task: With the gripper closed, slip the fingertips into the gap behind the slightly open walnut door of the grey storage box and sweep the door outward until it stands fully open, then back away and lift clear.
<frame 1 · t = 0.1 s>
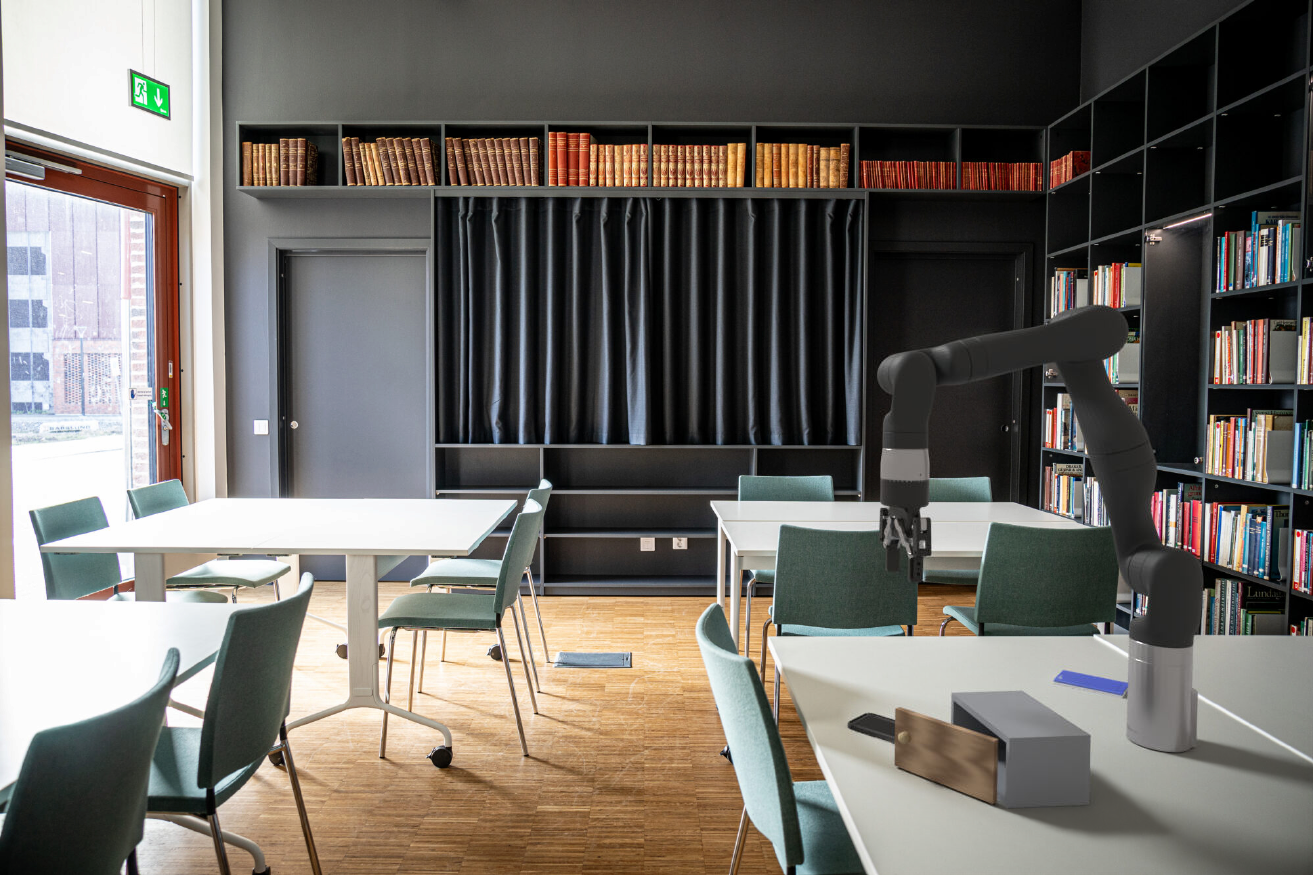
hand: (903, 576, 131), 29 cm above the table, tool pointing down, fingers open, 8 cm apart
door: (942, 753, 120), point 5 cm above the table, hinge at 35.0°
storage box: (1015, 777, 123), on the table
hard drive: (1091, 689, 164), on the table
phone: (894, 736, 139), on the table
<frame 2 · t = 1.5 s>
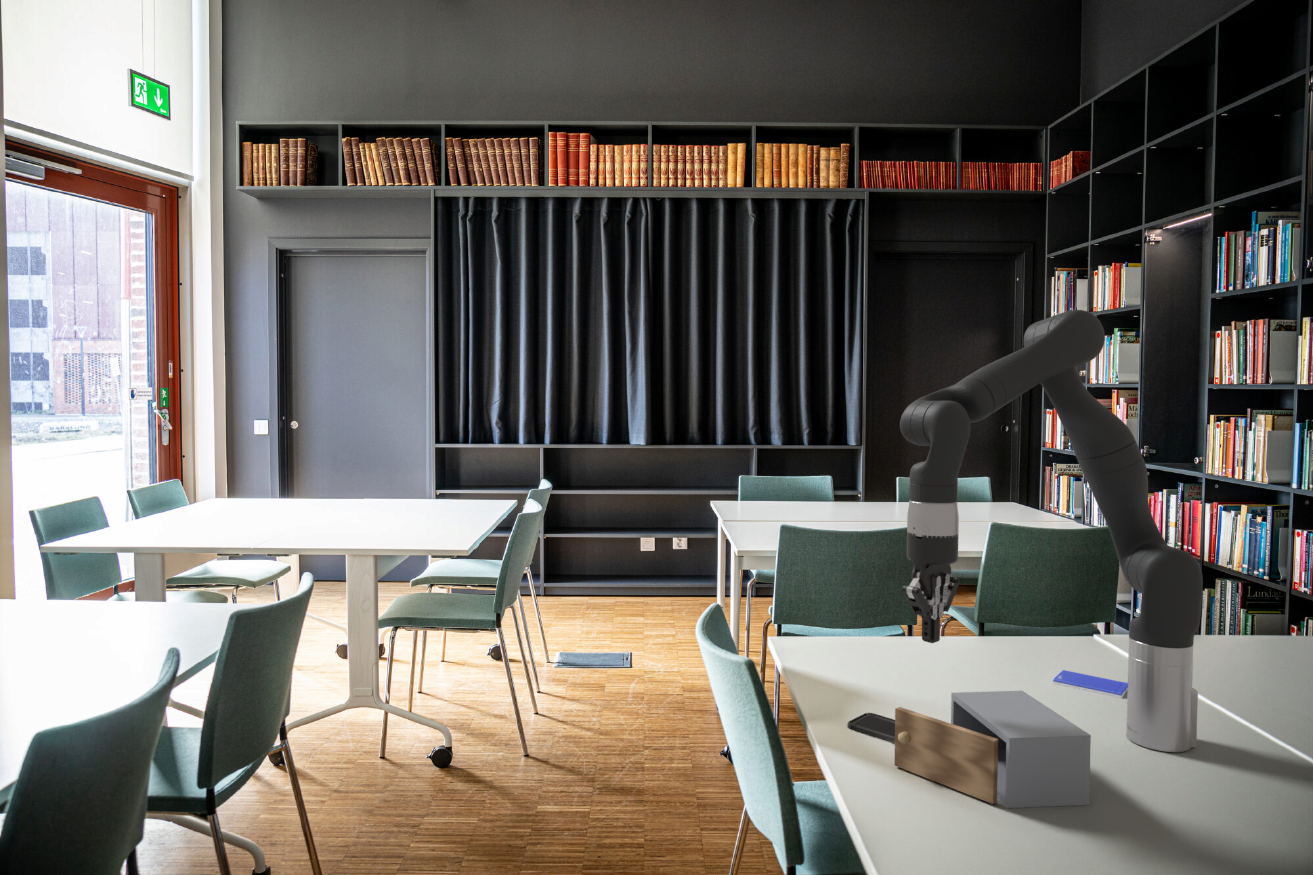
hand: (930, 641, 125), 20 cm above the table, tool pointing down, fingers closed
nothing on the table moved.
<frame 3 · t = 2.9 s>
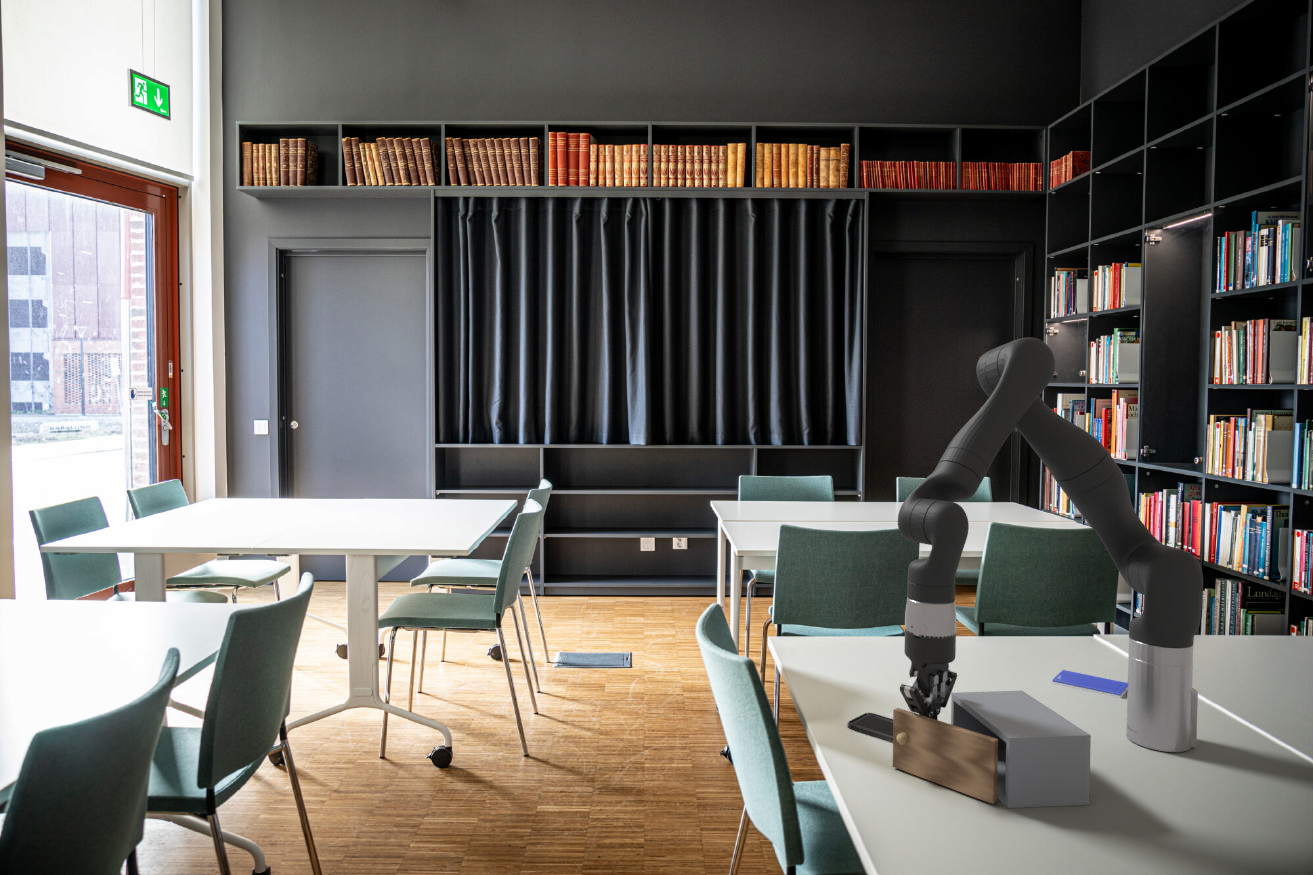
hand: (927, 737, 126), 5 cm above the table, tool pointing down, fingers closed
door: (941, 754, 120), point 5 cm above the table, hinge at 37.0°, touching gripper
everything else where it was.
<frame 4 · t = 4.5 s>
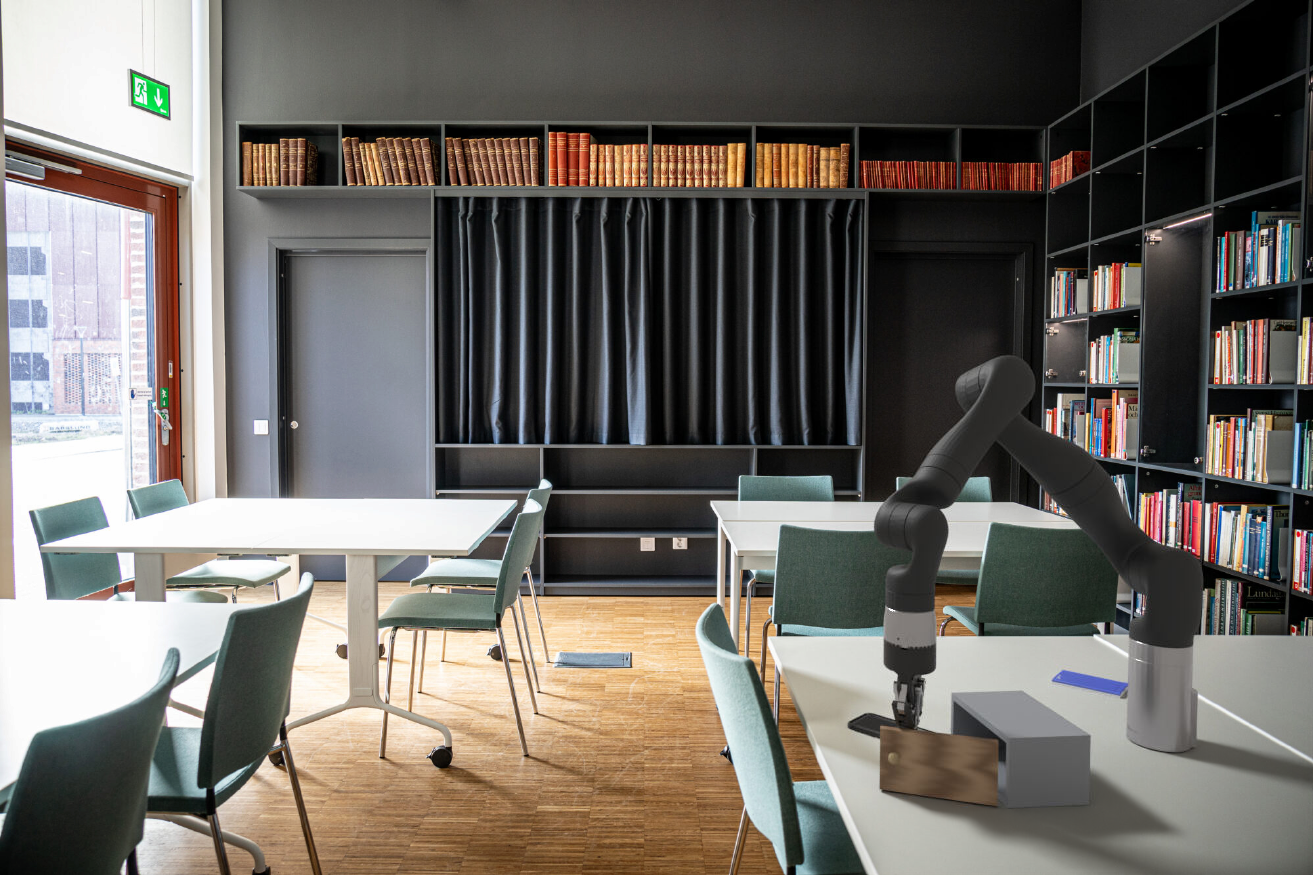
hand: (908, 750, 121), 5 cm above the table, tool pointing down, fingers closed
door: (937, 766, 116), point 5 cm above the table, hinge at 66.8°, touching gripper, hand
everything else where it was.
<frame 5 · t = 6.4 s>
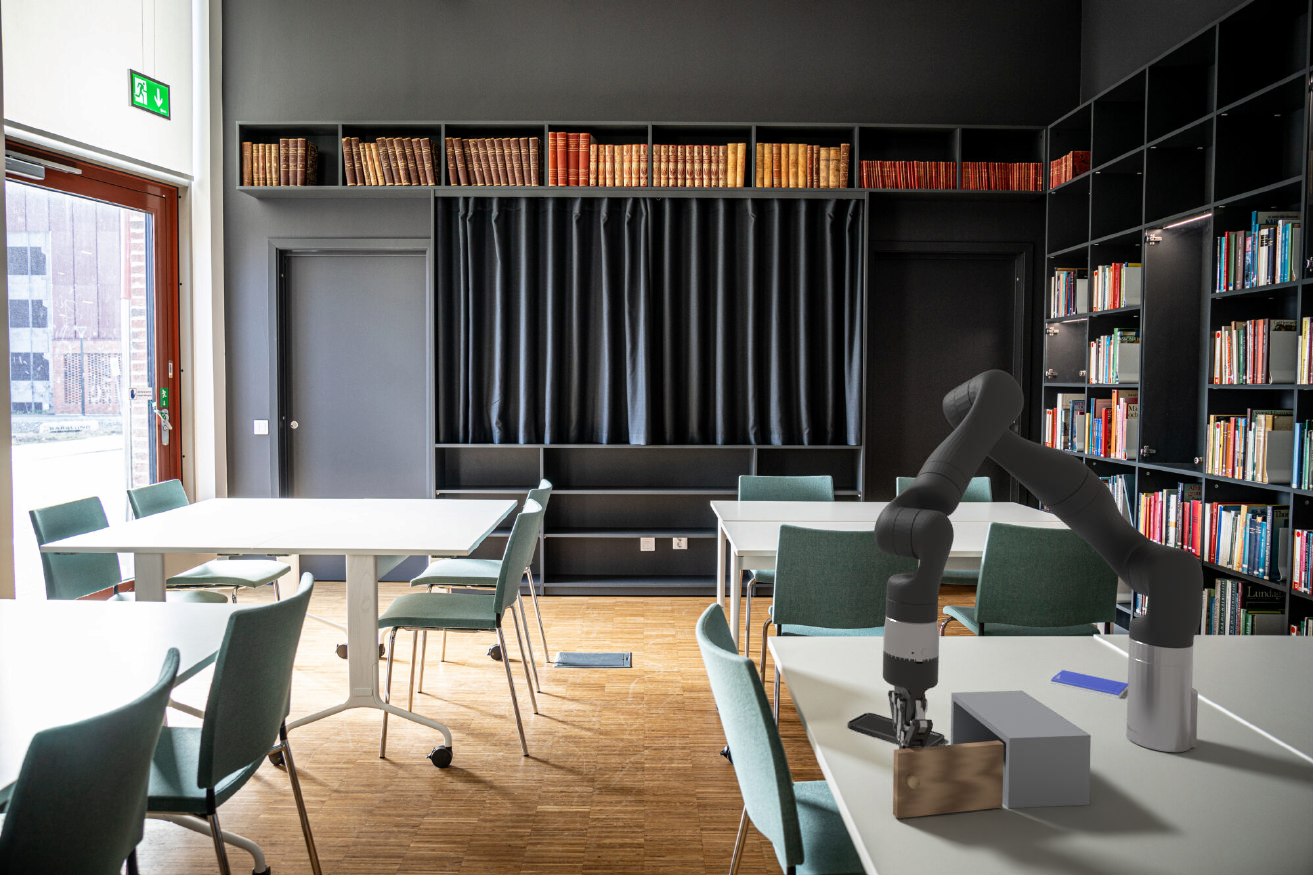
hand: (907, 769, 115), 5 cm above the table, tool pointing down, fingers closed
door: (950, 780, 112), point 5 cm above the table, hinge at 96.1°, touching hand
everything else where it was.
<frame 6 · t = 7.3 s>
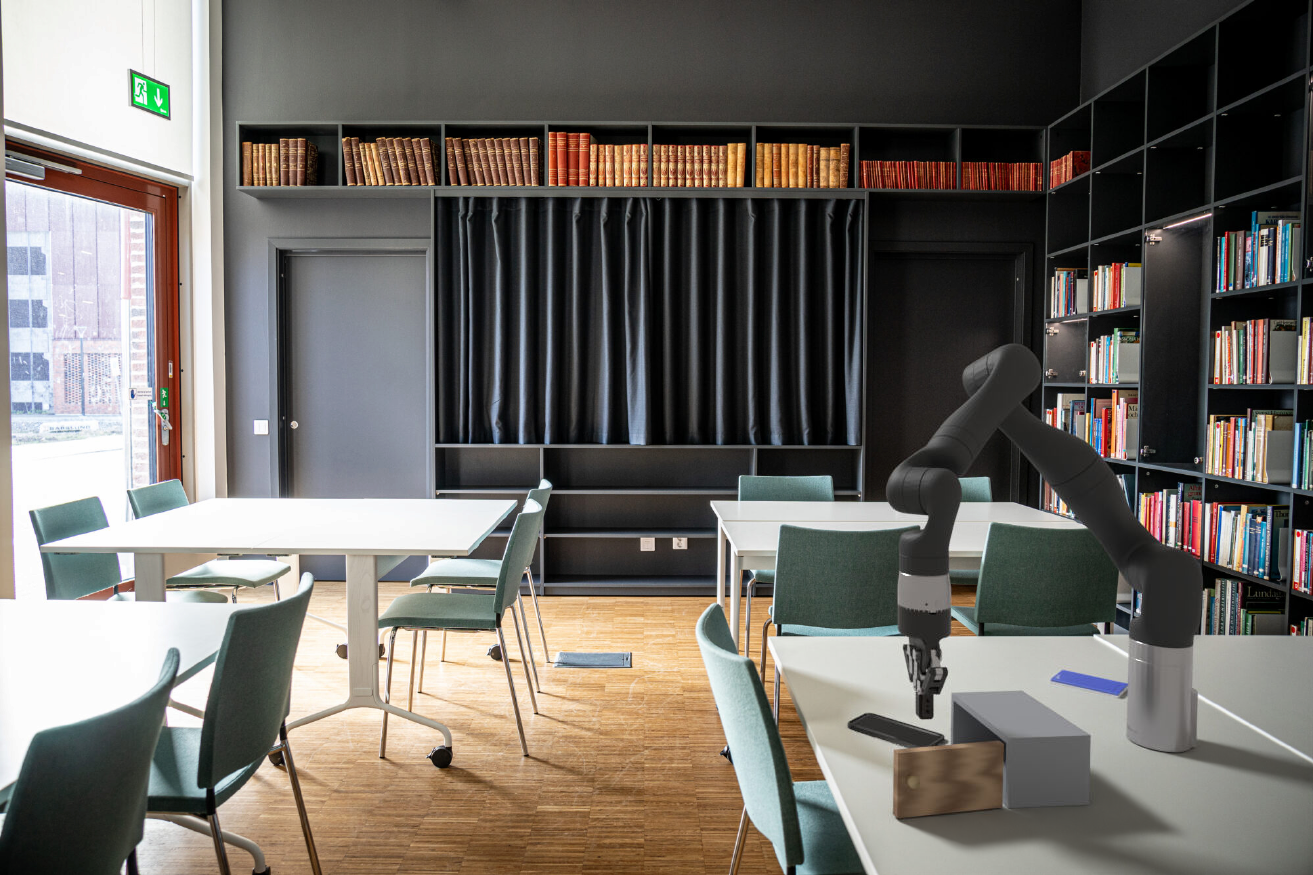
hand: (924, 717, 120), 10 cm above the table, tool pointing down, fingers closed
door: (950, 780, 112), point 5 cm above the table, hinge at 96.1°
everything else where it was.
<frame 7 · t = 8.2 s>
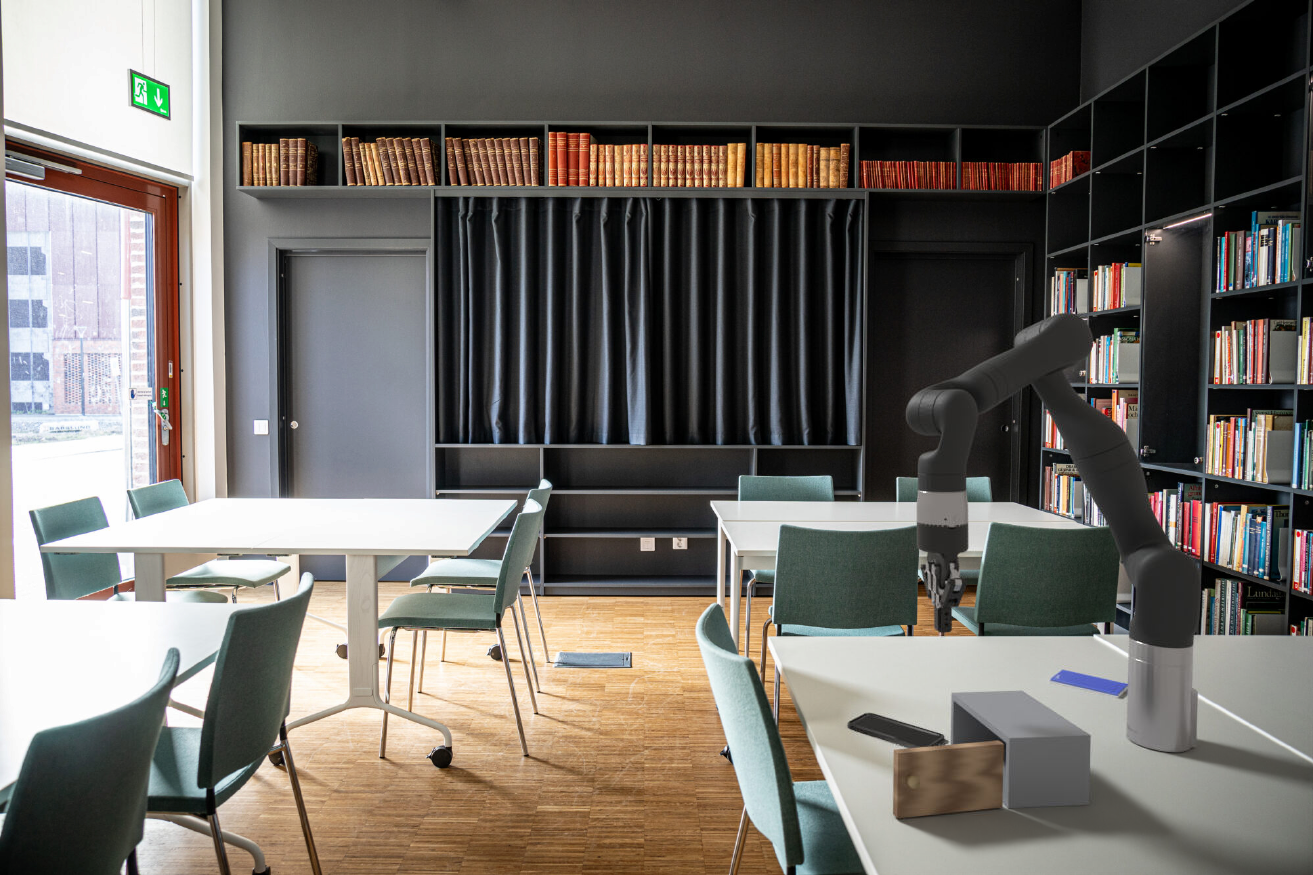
hand: (943, 631, 125), 22 cm above the table, tool pointing down, fingers closed
nothing on the table moved.
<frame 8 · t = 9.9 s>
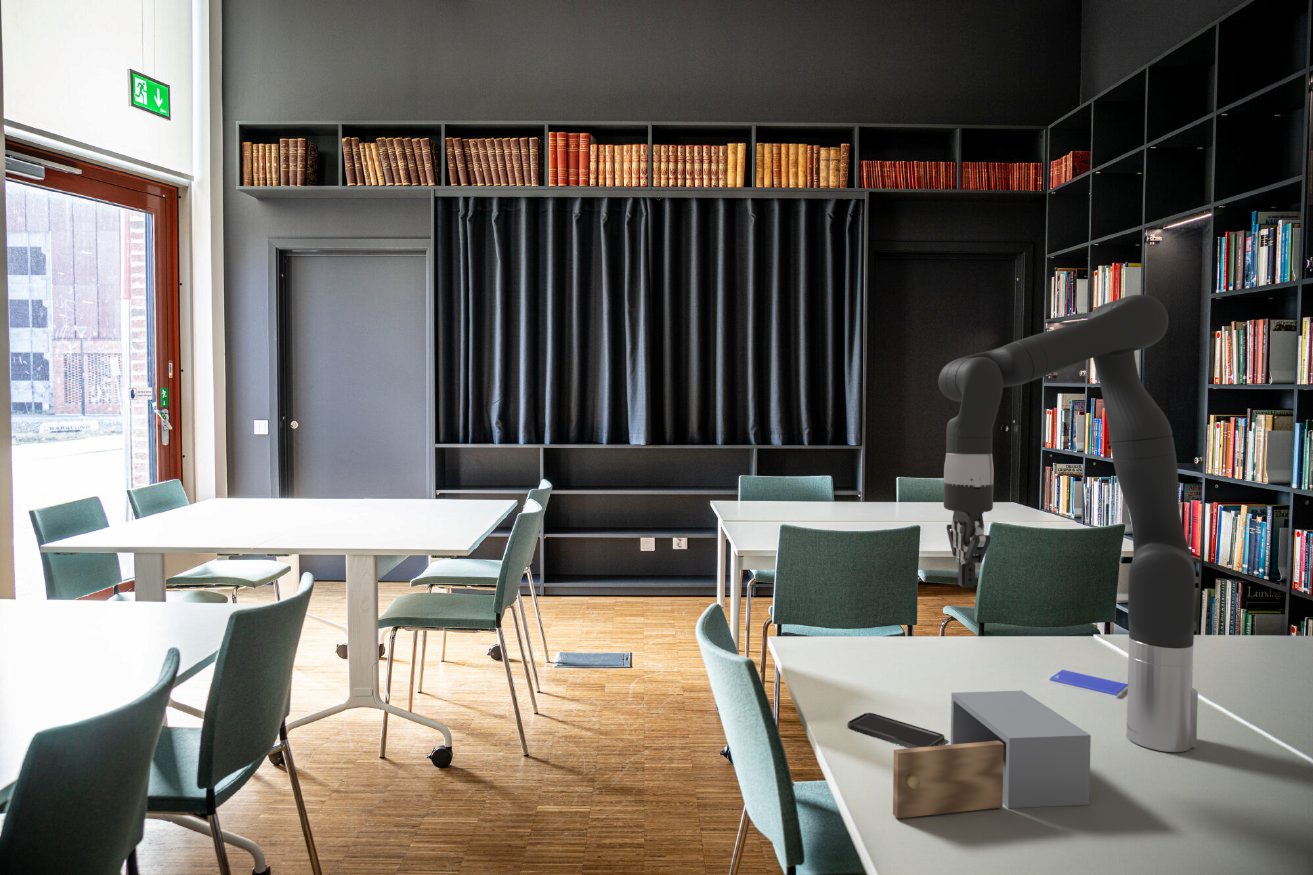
hand: (966, 586, 132), 27 cm above the table, tool pointing down, fingers closed
nothing on the table moved.
at the end: door at +96° (first picture: +35°); phone moved 0.6 cm from its start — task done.
